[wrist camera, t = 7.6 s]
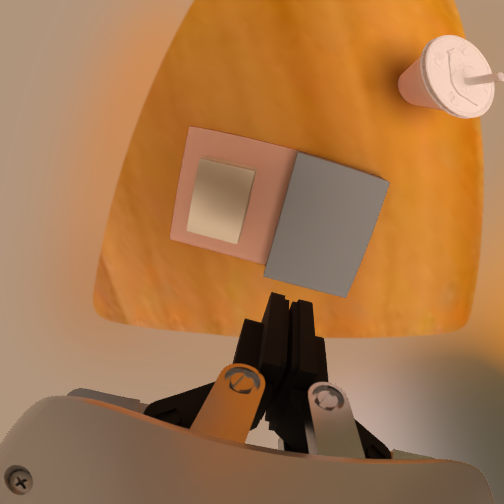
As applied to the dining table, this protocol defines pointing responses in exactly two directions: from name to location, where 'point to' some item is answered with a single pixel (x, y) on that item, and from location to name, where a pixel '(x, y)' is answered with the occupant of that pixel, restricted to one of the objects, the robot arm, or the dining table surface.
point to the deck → (324, 224)
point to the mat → (262, 197)
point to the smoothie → (450, 78)
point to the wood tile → (220, 198)
